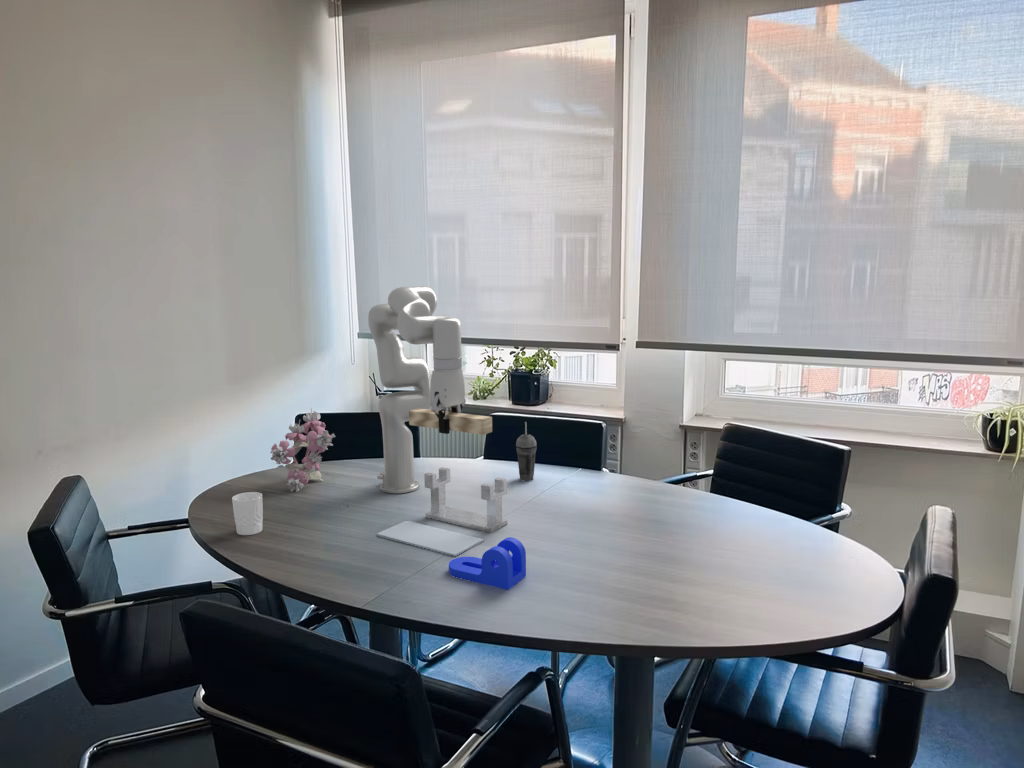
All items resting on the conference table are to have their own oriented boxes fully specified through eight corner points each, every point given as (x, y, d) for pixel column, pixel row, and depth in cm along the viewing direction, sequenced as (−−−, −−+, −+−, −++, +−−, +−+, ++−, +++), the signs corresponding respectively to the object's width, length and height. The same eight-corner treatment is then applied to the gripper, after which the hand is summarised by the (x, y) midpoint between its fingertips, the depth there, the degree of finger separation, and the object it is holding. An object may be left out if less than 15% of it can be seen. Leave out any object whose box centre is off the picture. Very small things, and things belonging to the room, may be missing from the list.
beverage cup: (538, 476, 249) (537, 419, 246) (536, 482, 242) (536, 423, 238) (516, 475, 250) (516, 418, 246) (514, 482, 242) (514, 423, 239)
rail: (409, 424, 202) (408, 410, 201) (418, 422, 205) (418, 408, 204) (483, 434, 188) (483, 419, 188) (492, 431, 192) (492, 416, 191)
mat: (376, 535, 196) (376, 533, 196) (406, 522, 206) (406, 520, 206) (455, 556, 181) (455, 554, 181) (483, 541, 191) (483, 539, 191)
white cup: (271, 528, 202) (268, 493, 201) (250, 538, 195) (247, 502, 194) (249, 524, 206) (247, 490, 204) (228, 534, 199) (225, 498, 197)
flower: (250, 479, 244) (256, 419, 231) (307, 458, 260) (316, 402, 248) (284, 515, 234) (292, 454, 222) (341, 491, 251) (352, 433, 238)
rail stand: (425, 517, 210) (424, 473, 207) (443, 509, 216) (442, 467, 214) (490, 532, 197) (490, 486, 195) (507, 523, 203) (506, 479, 201)
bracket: (526, 576, 169) (525, 540, 168) (508, 590, 162) (507, 552, 161) (461, 562, 178) (460, 527, 177) (442, 574, 171) (440, 538, 170)
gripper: (455, 360, 203) (456, 424, 206) (416, 367, 189) (419, 436, 192) (477, 361, 199) (478, 427, 202) (439, 369, 185) (441, 439, 188)
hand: (449, 430), depth 197 cm, fingers closed on rail, 4 cm apart
